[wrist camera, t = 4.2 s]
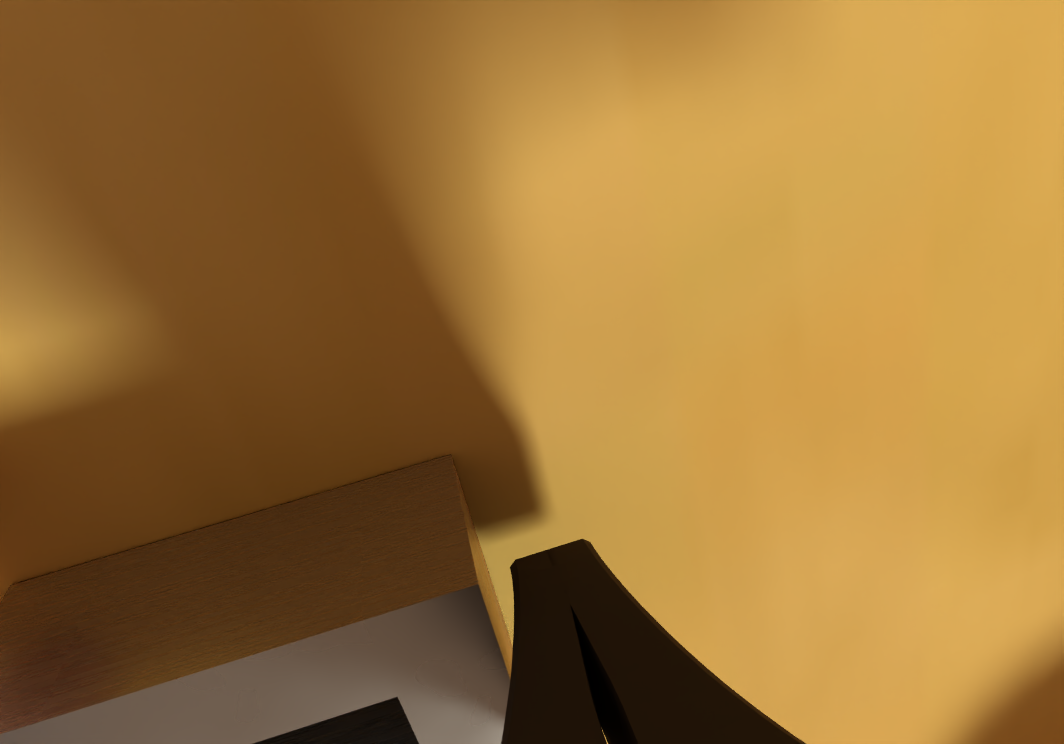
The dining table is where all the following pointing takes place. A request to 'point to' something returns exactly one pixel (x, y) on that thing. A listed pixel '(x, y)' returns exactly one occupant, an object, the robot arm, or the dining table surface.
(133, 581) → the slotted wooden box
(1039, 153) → the dining table surface
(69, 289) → the dining table surface
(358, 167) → the dining table surface
